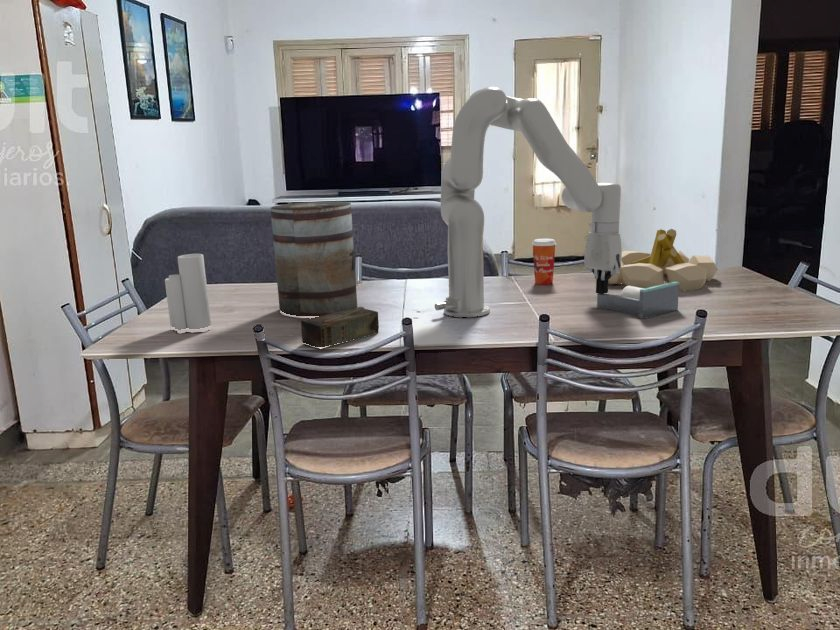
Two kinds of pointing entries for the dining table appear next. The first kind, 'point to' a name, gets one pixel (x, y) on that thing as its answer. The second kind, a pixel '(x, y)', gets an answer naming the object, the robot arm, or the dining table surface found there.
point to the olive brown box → (339, 327)
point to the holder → (644, 301)
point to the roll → (631, 292)
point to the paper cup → (543, 260)
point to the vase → (188, 294)
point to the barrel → (314, 257)
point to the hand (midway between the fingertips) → (601, 292)
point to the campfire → (664, 266)
